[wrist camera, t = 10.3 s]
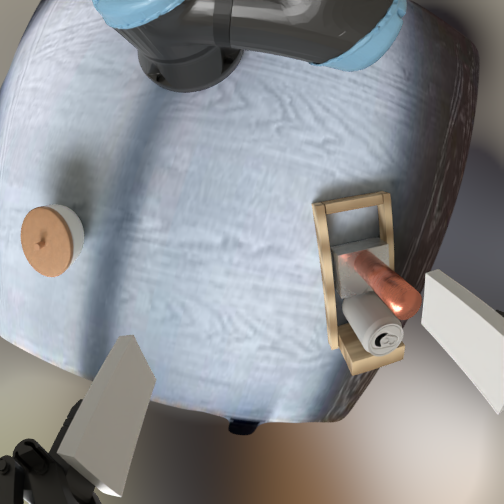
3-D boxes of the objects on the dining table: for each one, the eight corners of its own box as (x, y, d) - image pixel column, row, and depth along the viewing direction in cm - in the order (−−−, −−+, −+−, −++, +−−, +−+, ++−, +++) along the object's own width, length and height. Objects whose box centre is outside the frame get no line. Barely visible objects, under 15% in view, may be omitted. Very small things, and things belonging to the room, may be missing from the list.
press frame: (311, 203, 40) (332, 217, 31) (382, 191, 40) (417, 201, 31) (328, 341, 48) (343, 378, 39) (386, 325, 48) (410, 356, 38)
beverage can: (348, 281, 45) (378, 319, 33) (379, 288, 45) (413, 324, 34) (335, 314, 47) (358, 357, 35) (365, 319, 47) (393, 360, 36)
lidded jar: (45, 249, 41) (14, 268, 32) (50, 192, 38) (15, 202, 29) (90, 268, 43) (63, 291, 34) (99, 207, 39) (67, 221, 31)
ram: (329, 247, 42) (376, 298, 26) (377, 236, 42) (438, 279, 26) (334, 287, 45) (374, 350, 29) (379, 276, 44) (432, 330, 28)
